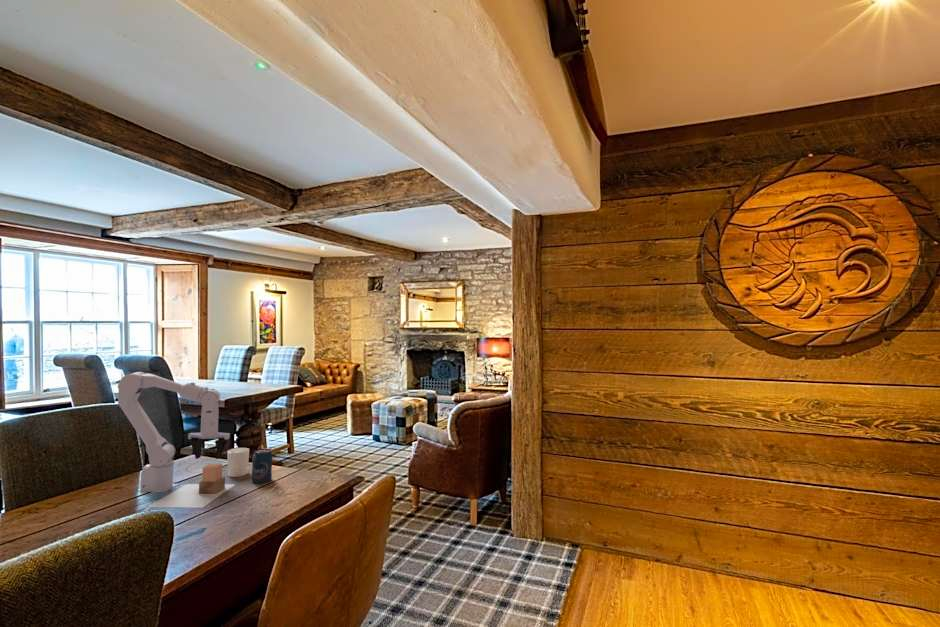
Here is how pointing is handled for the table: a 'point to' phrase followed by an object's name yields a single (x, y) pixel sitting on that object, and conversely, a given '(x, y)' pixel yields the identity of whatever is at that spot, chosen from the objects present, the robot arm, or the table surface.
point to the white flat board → (188, 497)
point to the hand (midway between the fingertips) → (208, 458)
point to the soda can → (262, 466)
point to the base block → (211, 486)
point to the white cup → (237, 461)
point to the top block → (212, 473)
